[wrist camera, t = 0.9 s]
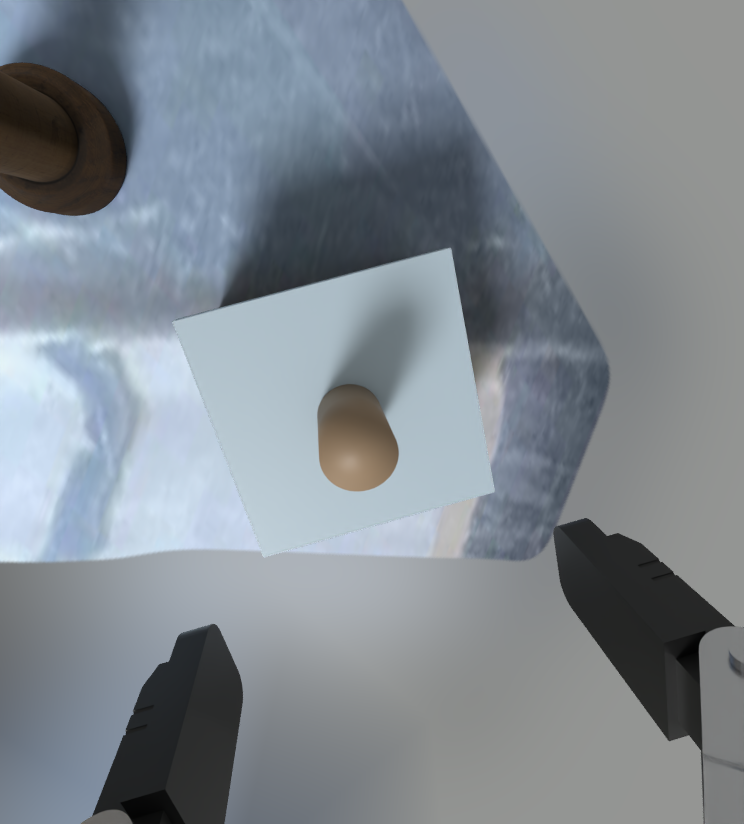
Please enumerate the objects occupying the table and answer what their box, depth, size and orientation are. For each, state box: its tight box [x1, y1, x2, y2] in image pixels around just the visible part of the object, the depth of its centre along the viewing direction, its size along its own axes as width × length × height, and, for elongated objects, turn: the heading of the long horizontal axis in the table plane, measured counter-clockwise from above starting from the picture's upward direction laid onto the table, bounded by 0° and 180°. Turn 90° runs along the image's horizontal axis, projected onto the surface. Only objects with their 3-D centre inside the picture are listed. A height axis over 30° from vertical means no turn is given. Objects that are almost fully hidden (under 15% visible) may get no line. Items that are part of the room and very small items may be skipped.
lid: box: [172, 248, 495, 557], centre depth 22 cm, size 13×13×6 cm
